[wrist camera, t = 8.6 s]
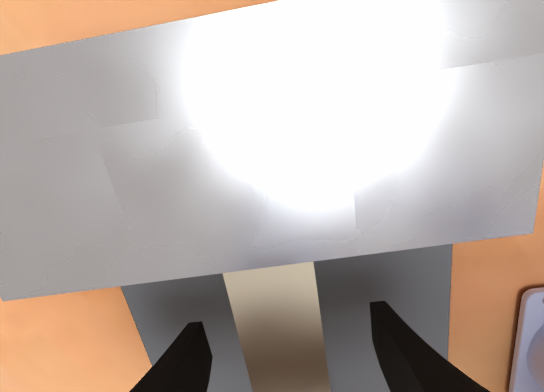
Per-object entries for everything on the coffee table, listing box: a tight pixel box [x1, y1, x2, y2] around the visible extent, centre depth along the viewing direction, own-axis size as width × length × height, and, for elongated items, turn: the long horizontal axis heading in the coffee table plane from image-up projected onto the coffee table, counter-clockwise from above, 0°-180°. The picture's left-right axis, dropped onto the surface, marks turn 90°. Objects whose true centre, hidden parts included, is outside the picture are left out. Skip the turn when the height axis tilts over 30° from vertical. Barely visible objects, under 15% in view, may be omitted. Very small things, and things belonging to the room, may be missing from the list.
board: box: [121, 244, 452, 392], centre depth 16 cm, size 16×28×1 cm, turn 9°
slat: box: [223, 262, 331, 392], centre depth 13 cm, size 18×3×4 cm, turn 9°
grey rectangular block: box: [0, 0, 544, 301], centre depth 9 cm, size 12×5×7 cm, turn 99°
